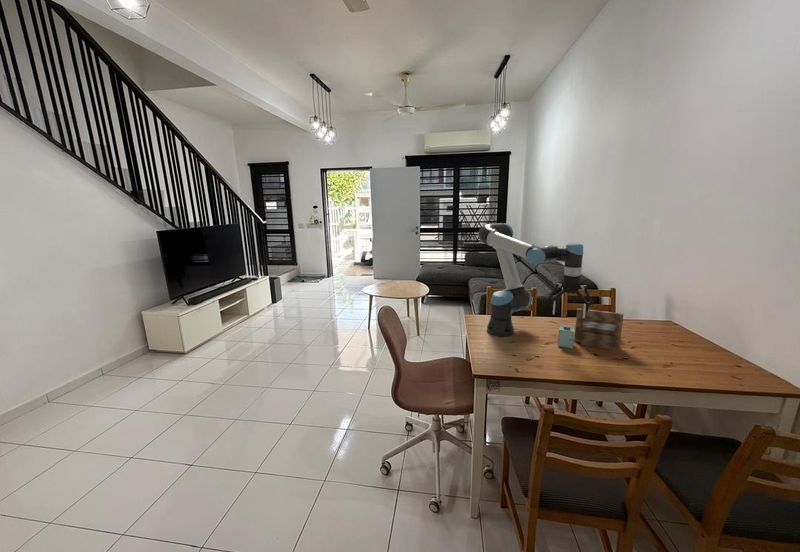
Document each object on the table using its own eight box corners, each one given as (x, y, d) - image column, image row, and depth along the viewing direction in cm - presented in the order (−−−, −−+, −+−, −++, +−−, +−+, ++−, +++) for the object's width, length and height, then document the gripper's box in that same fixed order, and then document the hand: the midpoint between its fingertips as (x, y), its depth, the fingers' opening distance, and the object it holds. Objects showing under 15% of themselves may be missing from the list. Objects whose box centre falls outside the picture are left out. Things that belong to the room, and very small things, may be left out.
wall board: (574, 343, 167) (577, 311, 163) (574, 337, 174) (577, 306, 170) (619, 350, 158) (624, 316, 154) (618, 344, 165) (622, 311, 161)
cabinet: (557, 346, 164) (559, 328, 162) (558, 340, 172) (559, 322, 169) (572, 349, 161) (574, 330, 159) (573, 342, 168) (574, 324, 166)
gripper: (544, 274, 160) (541, 314, 164) (602, 278, 148) (597, 321, 153) (545, 271, 166) (542, 310, 171) (601, 275, 155) (596, 316, 159)
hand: (568, 315), depth 162 cm, fingers open, 13 cm apart
